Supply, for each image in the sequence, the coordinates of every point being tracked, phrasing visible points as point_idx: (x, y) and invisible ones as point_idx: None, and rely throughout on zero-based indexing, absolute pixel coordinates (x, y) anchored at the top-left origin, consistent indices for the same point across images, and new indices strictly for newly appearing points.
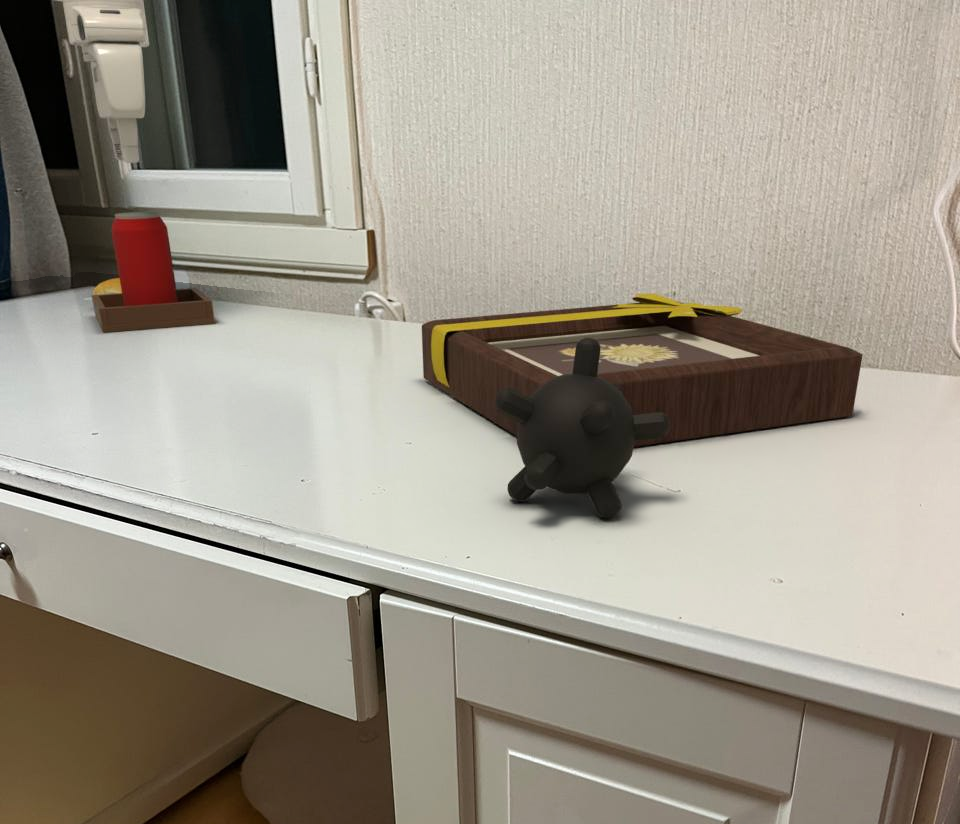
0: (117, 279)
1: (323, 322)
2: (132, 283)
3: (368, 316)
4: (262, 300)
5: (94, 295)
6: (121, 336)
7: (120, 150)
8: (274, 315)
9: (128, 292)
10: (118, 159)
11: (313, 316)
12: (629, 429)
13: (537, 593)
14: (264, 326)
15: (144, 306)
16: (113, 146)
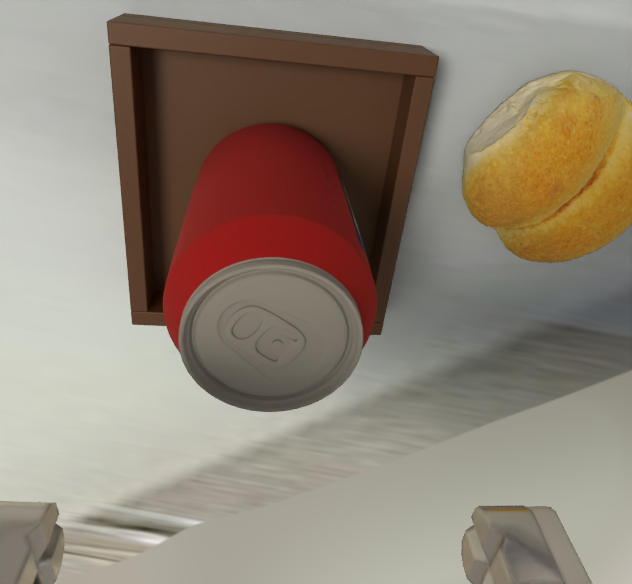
0: (546, 173)
1: (68, 456)
2: (206, 173)
3: (104, 519)
4: (404, 428)
5: (422, 63)
6: (43, 52)
7: (491, 568)
8: (197, 408)
9: (224, 149)
10: (478, 507)
11: (148, 457)
12: None
13: None
14: (64, 367)
15: (119, 162)
16: (585, 570)
